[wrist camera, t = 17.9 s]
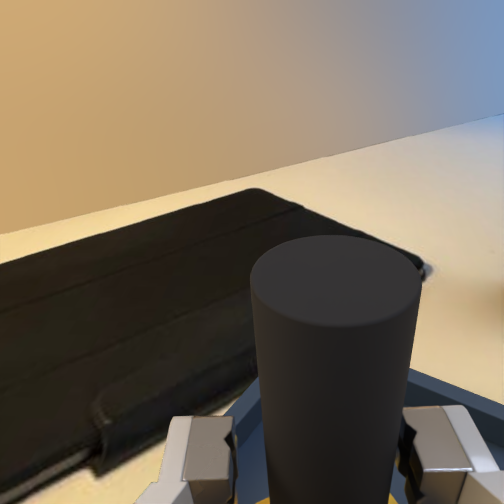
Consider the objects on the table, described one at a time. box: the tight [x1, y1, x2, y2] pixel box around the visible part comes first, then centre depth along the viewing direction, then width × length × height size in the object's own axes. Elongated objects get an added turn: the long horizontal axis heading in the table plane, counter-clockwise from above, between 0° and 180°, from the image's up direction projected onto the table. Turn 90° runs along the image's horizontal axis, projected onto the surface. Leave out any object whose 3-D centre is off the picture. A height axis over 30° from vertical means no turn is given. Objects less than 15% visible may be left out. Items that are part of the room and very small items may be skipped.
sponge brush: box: [250, 235, 422, 504], centre depth 10 cm, size 5×4×12 cm
